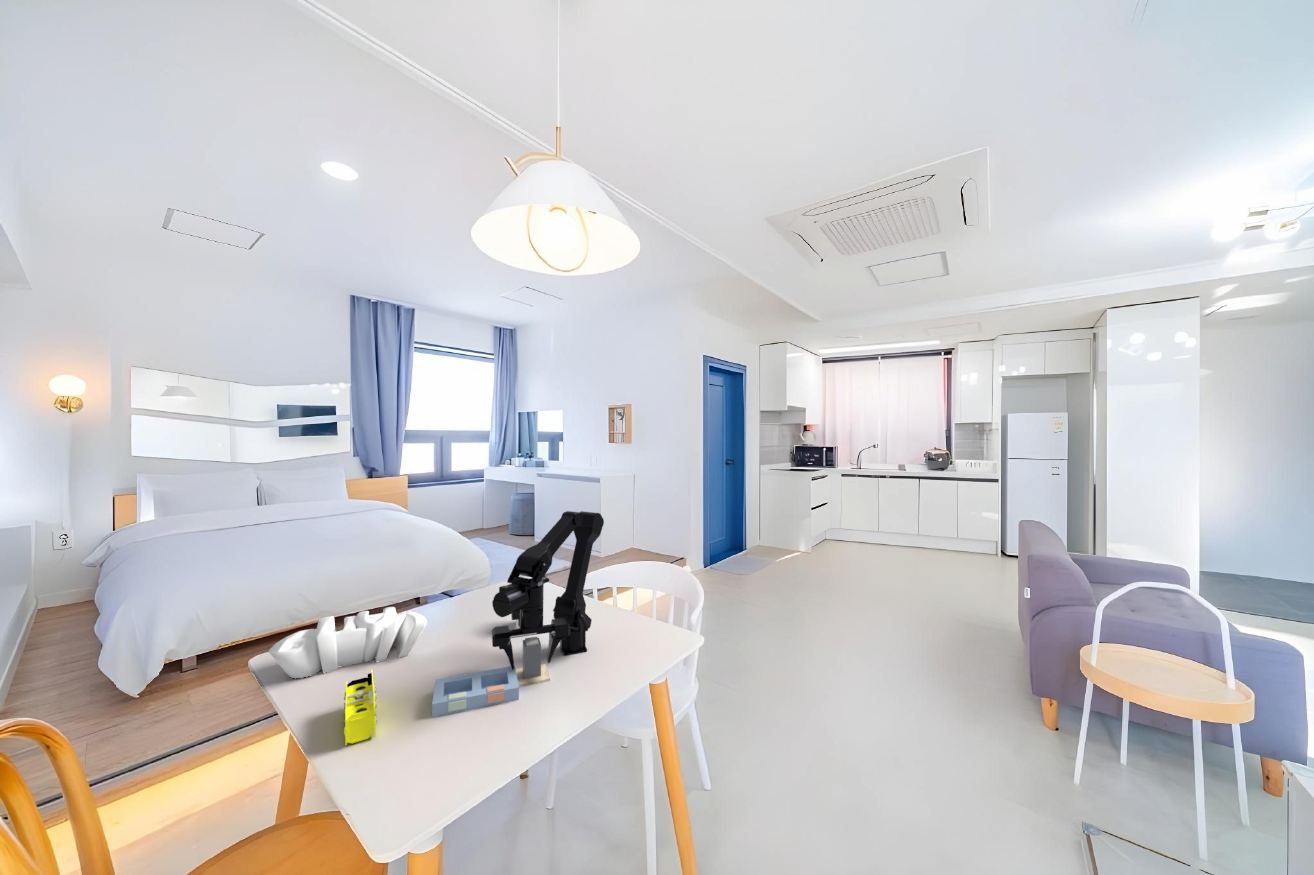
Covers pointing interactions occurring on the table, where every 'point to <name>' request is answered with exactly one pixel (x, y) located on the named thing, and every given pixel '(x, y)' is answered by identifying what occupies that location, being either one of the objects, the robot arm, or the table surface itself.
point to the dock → (474, 690)
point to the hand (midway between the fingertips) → (530, 665)
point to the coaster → (535, 680)
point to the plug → (531, 657)
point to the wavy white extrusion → (348, 642)
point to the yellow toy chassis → (360, 709)
